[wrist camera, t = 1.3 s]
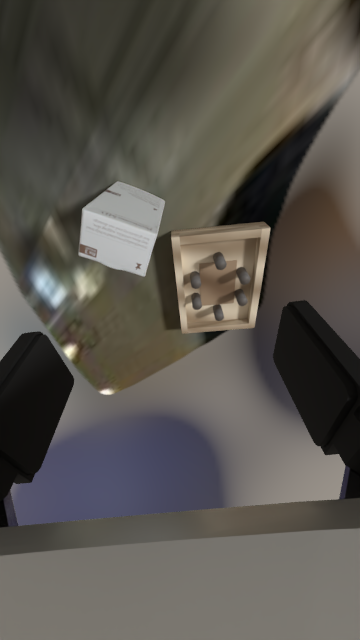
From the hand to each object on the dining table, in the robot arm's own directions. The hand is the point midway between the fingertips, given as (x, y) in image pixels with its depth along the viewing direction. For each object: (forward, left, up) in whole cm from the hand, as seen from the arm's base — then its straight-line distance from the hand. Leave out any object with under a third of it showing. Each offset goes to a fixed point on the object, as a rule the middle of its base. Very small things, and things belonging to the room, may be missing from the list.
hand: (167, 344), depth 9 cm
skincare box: (0, -4, -24) cm, 24 cm away
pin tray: (+11, +6, -24) cm, 27 cm away
